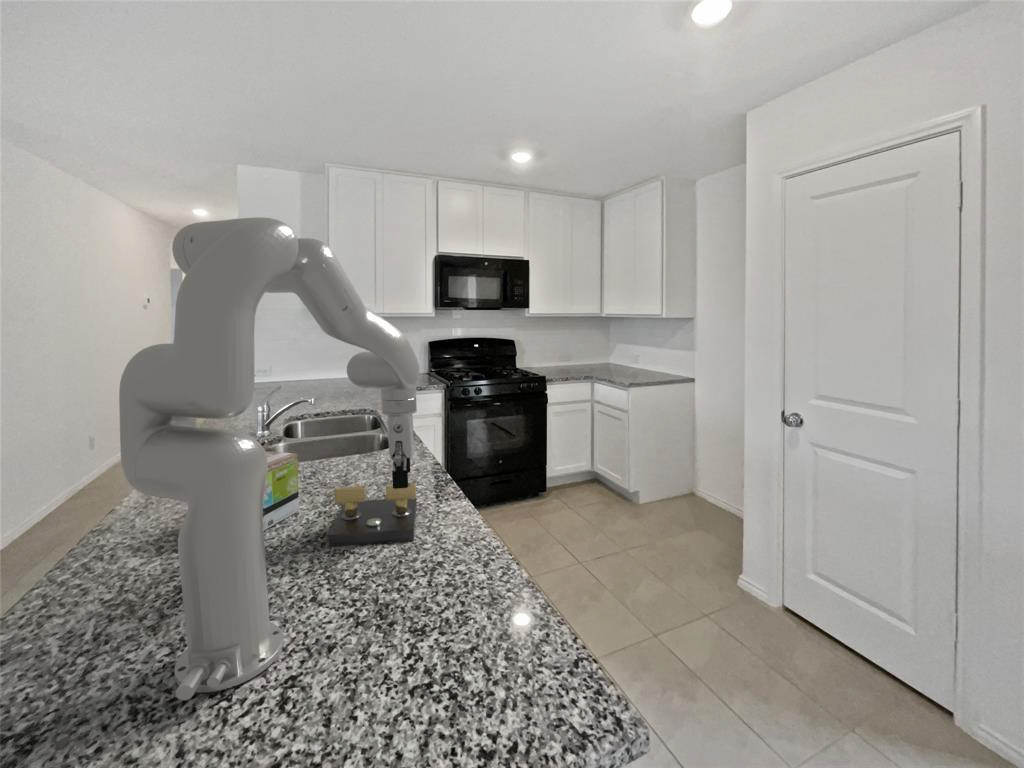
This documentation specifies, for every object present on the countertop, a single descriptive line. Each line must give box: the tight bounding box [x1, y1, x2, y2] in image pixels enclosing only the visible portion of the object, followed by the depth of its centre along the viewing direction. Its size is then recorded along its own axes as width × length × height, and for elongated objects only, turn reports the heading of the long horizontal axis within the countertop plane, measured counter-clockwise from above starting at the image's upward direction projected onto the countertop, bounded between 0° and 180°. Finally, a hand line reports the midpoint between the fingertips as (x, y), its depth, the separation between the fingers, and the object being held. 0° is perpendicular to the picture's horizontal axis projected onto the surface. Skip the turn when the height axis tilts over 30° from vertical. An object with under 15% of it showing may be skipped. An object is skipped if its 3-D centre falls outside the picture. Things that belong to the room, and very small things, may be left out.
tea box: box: [263, 450, 300, 531], centre depth 105 cm, size 15×10×15 cm
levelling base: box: [327, 496, 418, 547], centre depth 104 cm, size 18×17×3 cm
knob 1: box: [333, 485, 367, 516], centre depth 102 cm, size 3×6×6 cm, turn 100°
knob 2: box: [385, 482, 417, 513], centre depth 104 cm, size 3×6×6 cm, turn 100°
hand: (402, 479), depth 104 cm, fingers open, 9 cm apart
